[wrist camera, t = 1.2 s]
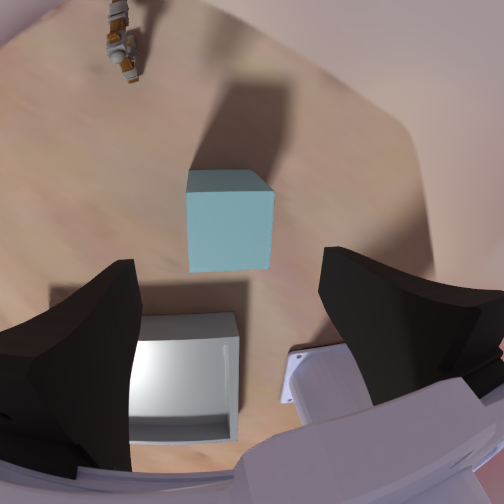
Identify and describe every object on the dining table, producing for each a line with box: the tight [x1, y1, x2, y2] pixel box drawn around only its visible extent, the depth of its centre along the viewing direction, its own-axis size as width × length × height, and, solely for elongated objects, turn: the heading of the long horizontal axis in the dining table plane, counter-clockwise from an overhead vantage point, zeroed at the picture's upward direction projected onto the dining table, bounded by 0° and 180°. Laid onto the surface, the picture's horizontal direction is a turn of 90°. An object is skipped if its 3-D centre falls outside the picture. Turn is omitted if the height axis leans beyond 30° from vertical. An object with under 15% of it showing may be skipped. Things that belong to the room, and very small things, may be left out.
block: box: [186, 169, 275, 273], centre depth 17 cm, size 4×4×6 cm
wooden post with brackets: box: [105, 0, 139, 84], centre depth 12 cm, size 2×8×4 cm, turn 9°
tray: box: [129, 312, 239, 445], centre depth 24 cm, size 16×16×3 cm
